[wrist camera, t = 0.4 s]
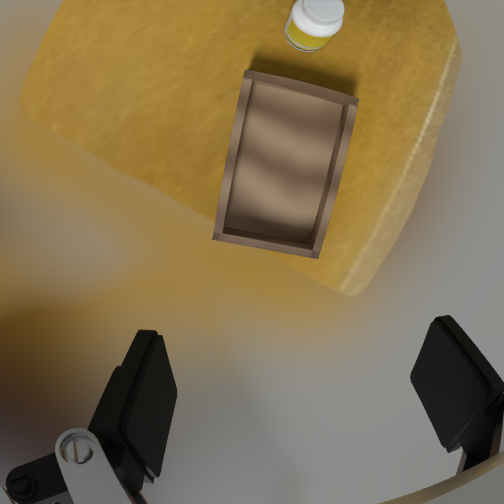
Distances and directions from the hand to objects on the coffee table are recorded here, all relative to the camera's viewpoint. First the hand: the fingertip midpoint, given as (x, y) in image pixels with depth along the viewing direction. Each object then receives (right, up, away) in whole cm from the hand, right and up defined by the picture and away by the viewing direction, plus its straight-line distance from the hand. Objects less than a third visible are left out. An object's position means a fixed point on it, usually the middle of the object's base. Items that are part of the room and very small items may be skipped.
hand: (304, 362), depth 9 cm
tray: (+2, +14, +25) cm, 29 cm away
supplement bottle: (+5, +30, +19) cm, 36 cm away
